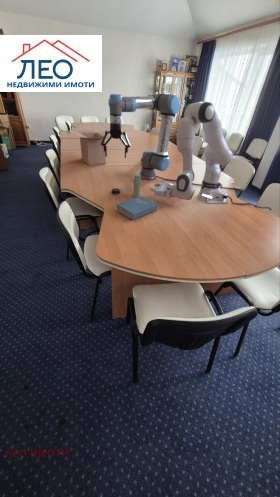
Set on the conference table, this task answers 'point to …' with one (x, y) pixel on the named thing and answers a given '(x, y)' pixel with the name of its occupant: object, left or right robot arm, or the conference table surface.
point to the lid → (115, 191)
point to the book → (136, 207)
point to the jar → (137, 185)
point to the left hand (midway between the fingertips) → (115, 156)
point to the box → (92, 146)
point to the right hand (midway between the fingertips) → (152, 187)
